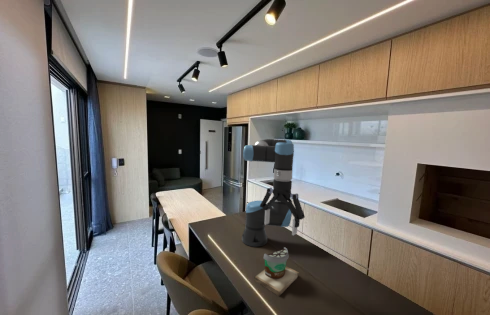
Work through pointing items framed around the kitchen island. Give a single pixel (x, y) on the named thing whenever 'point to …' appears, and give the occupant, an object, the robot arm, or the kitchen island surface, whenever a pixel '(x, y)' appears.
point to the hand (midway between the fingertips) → (279, 228)
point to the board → (277, 281)
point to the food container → (276, 263)
